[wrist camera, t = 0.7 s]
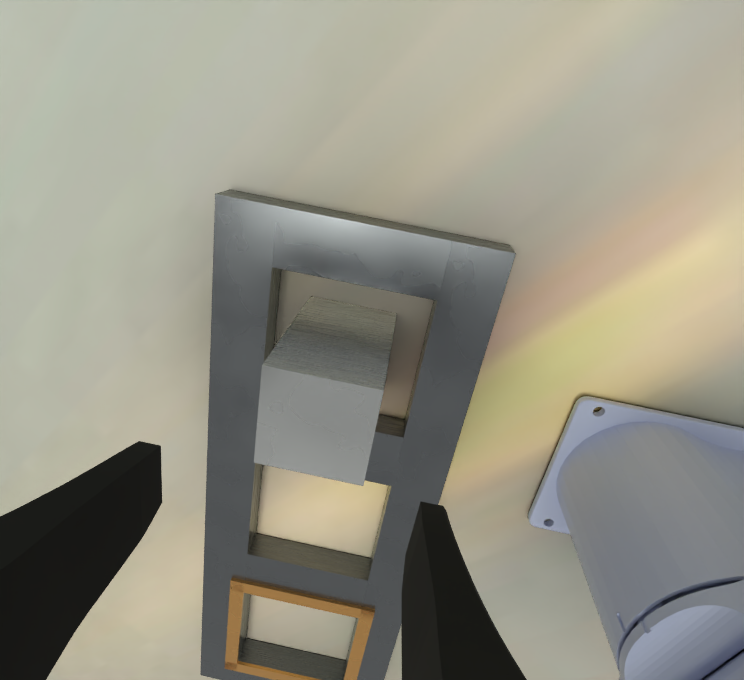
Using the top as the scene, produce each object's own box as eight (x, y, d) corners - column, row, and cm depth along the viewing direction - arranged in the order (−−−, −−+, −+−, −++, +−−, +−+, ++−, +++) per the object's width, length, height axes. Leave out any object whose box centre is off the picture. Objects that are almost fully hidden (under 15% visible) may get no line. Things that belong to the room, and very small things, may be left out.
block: (397, 313, 21) (383, 390, 15) (381, 388, 23) (363, 485, 17) (311, 296, 21) (261, 365, 15) (301, 371, 23) (253, 462, 17)
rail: (509, 245, 19) (516, 254, 18) (375, 690, 33) (372, 717, 31) (229, 189, 20) (213, 194, 18) (209, 652, 33) (199, 678, 32)
